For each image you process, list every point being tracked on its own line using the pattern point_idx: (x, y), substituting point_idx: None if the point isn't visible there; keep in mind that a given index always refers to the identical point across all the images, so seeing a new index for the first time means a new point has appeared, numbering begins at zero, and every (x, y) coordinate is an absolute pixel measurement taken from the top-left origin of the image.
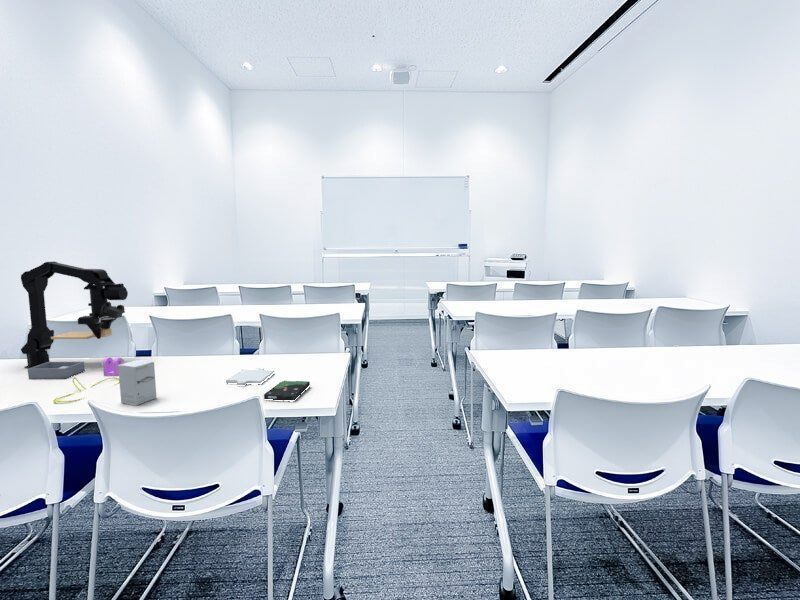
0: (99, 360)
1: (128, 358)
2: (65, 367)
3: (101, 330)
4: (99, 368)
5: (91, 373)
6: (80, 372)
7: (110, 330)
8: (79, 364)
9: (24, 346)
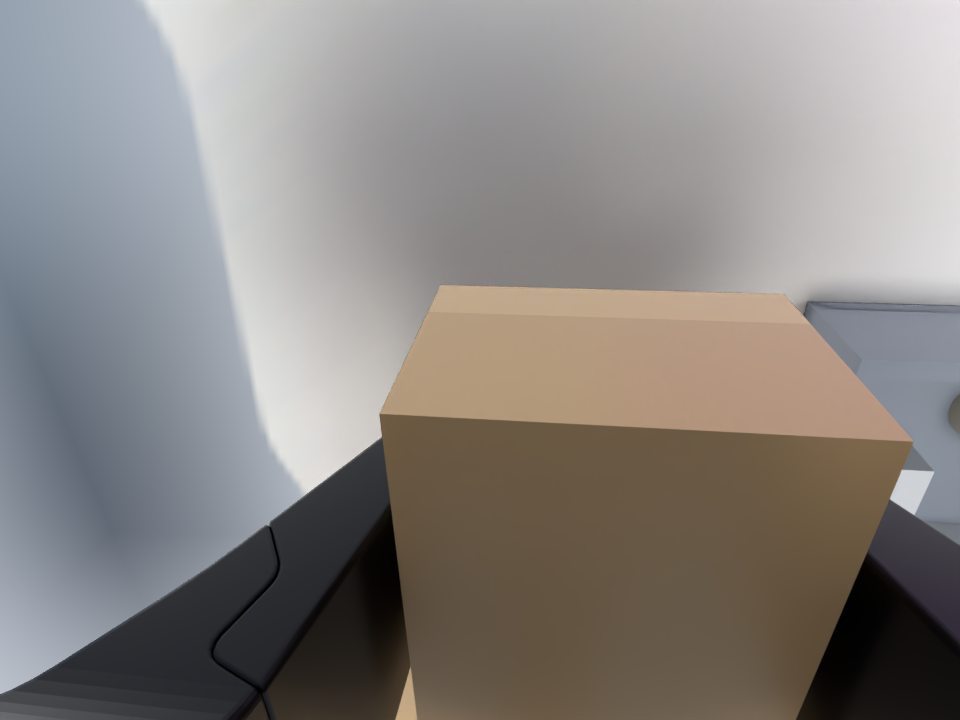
0: (356, 407)
1: (225, 129)
2: (906, 473)
3: (854, 571)
4: (699, 209)
5: (950, 160)
6: (888, 307)
7: (460, 372)
8: (954, 354)
9: None
